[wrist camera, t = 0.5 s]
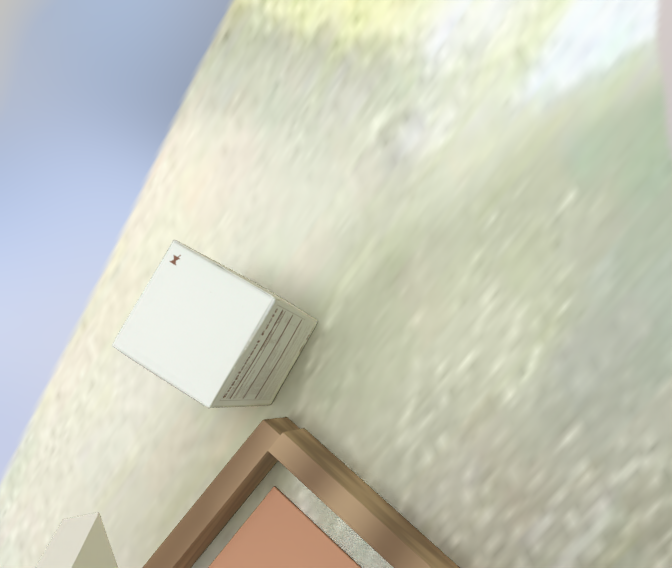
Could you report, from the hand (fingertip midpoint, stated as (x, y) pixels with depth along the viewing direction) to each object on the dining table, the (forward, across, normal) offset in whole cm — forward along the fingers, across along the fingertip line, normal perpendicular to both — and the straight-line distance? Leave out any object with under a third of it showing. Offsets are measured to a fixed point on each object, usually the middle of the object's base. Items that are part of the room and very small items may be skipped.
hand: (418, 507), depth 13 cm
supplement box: (+34, +8, +8) cm, 36 cm away
